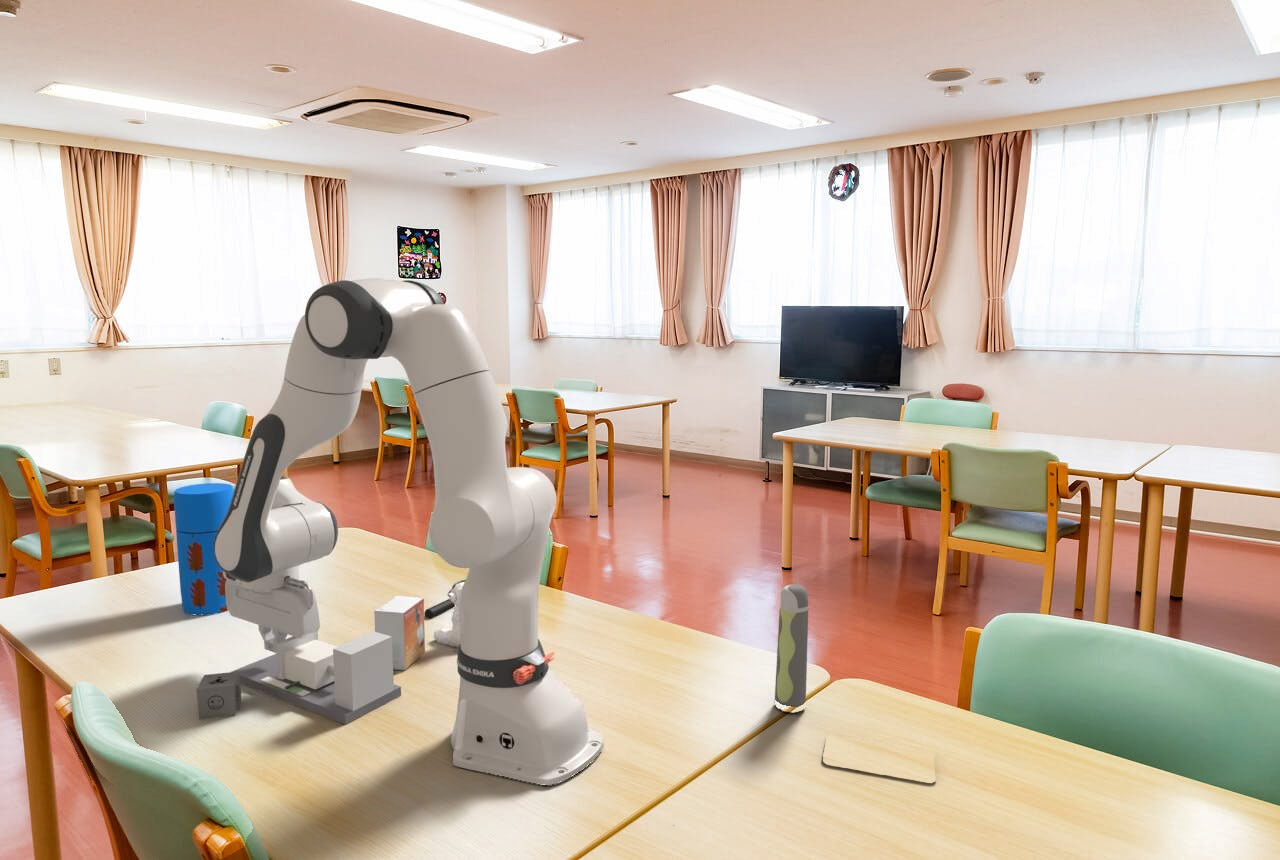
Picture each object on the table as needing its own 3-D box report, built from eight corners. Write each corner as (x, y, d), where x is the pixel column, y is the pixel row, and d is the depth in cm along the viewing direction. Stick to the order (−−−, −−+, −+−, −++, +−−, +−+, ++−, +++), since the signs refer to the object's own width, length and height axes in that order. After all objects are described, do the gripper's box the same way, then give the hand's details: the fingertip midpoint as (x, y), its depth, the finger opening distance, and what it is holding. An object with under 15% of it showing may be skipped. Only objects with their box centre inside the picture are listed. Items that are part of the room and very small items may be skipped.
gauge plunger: (267, 682, 131) (265, 646, 131) (314, 662, 139) (312, 628, 138) (315, 700, 126) (313, 663, 125) (361, 678, 133) (360, 643, 132)
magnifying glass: (404, 614, 167) (403, 604, 167) (474, 582, 189) (474, 573, 189) (453, 624, 162) (453, 614, 162) (520, 590, 184) (520, 581, 184)
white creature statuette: (479, 629, 159) (478, 570, 158) (497, 644, 152) (496, 583, 150) (432, 639, 154) (431, 578, 152) (448, 656, 147) (447, 592, 145)
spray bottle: (786, 697, 133) (791, 579, 130) (811, 707, 129) (817, 586, 127) (768, 707, 130) (772, 586, 127) (793, 718, 126) (798, 594, 123)
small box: (405, 671, 141) (403, 613, 139) (375, 668, 142) (373, 610, 140) (426, 652, 148) (424, 597, 147) (397, 649, 149) (396, 594, 148)
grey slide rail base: (231, 680, 136) (227, 620, 135) (289, 656, 146) (286, 600, 144) (345, 724, 122) (342, 658, 121) (401, 695, 132) (399, 633, 130)
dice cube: (198, 720, 123) (196, 689, 123) (206, 704, 128) (204, 674, 127) (234, 716, 125) (232, 685, 124) (241, 701, 130) (239, 671, 129)
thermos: (251, 603, 171) (244, 487, 168) (201, 619, 162) (192, 496, 159) (221, 593, 177) (214, 480, 173) (171, 608, 168) (162, 489, 164)
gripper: (327, 577, 134) (331, 657, 136) (250, 557, 144) (254, 631, 146) (294, 588, 129) (298, 671, 131) (216, 566, 139) (221, 643, 141)
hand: (274, 650), depth 139 cm, fingers closed
